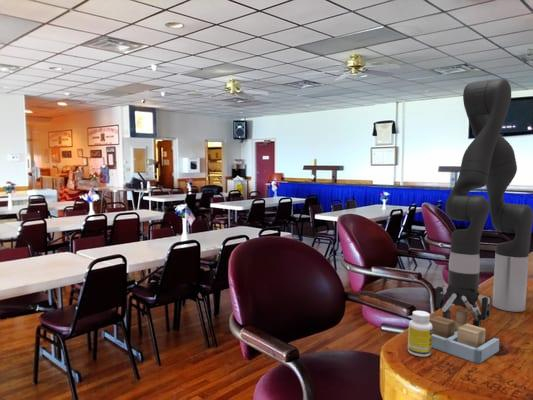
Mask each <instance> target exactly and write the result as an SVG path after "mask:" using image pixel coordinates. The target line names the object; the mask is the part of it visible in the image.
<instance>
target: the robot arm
mask: <svg viewBox="0 0 533 400" xmlns="http://www.w3.org/2000/svg"><path fill="white" fill-rule="evenodd" d="M462 94H463V95H462V100H463V106H464V111H465V114H466V116H467V119H468V123H469V125H470V128H471V130H472V133H473V136H474V139H473V140H472V141H471V142H470V144H469V145H468V146H467V148H466V150H465V151H464V154H463V156H462V158H461V165H460V168H459V169H460V170H459V175H458V177H457V179H456V182H455V184H454V186H453V188H452V190H451V192H450V194H449V195H448V197H447V199H446V202H445V213H446V215H447V217H448V218H449V219H451V220H452V221H453V220H454V221H459V222H460V221H462V222H469V223H470V224H469V225H468V226H467V228H461V229H454V230H453V231H452V233H451V239H450V254H449V259H448V275H447V276H448V277H447V279H448V280H447V283H448V284H447V285H448V286H447V287H446V286H445V285H439V286H437V287H436V290H435V291H436V293H435V294H436V295H435V296H436V297H435V307H436V308H437V309H440V310H441V311H442V317H443V318H446V319H450V320H451V319H452V317H451V314H452V311H451V309H452V308H453V307H454V306H455V307H456V306H457V307H462V308H464V309H467V310H468V311H467V312H468V313H470V314H471V316H472V318H473V319H472V325H474V326H477V327H481V328H482V321H486V320H487V319H490V316H491V315H490V314H491V303H492V306H493V308H496V309H499V310H502V311H506V312H515V313H517V312H519V313H520V312H524V311H526V305H527V304H526V302H527V290H528V289H527V287H528V270H529V268H528V267H529V256H530V254H529V253H530V248H531V239H532V238H531V237H532V230H533V209H532V207H531V206H530V205H528V204H519V203H507V202H506V201H505V193H506V191H507V189H508V187H509V186H510V184H511V183H512V182H513V179H514V178H515V176H516V174H517V171H518V164H517V159H516V155H515V150H514V148H513V146H512V145H511V144H510V142H508V140H507V139H506V138H505V137H504V136H503V135H501V133H502V132H501V131H502V128H503V126H504V124H505V120H506V118H507V115H508V111H509V108H510V107H511V106H510V105H511V100H512V88H511V84H510V82H509V81H508V80H507V79H506V78H495V79H489V80H488V79H486V80H480V81H473V82H469V83H467V84H466V85H465V87H464V88H463V93H462ZM488 115H489V116H488ZM484 187H486V190H487V197H488V199H487V198H486V196H483V195H477V194H469V193H470V191H472V190H477V189H481V188H484ZM489 215H490V219H491V220H490V221H491V224H492V227H493V228H494V230H496V231H497V232H501V233H507V234H515V236H514V238H513V239H512V240H509V241H504V242H499V243H497V244H496V246H495V252H494V253H495V254H494V255H495V256H494V271H493V285H492V286H493V289H492V290H493V291H492V298H491V296H489V295H482V294H480V293H479V285H480V272H481V271H480V268H481V267H480V266H481V262H480V261H481V259H480V250H481V247H480V246H481V238H482V235H483V234H482V233H483V230H484V227H485V225H486V222H487V220H488V217H489ZM446 294H447V296H448V297H449V298H448V299H447V301H446V302H445V295H446ZM478 300H479V303H480V305H481V309H480V307H479V306H478V303H477V301H478ZM480 310H481V311H480Z"/></svg>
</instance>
